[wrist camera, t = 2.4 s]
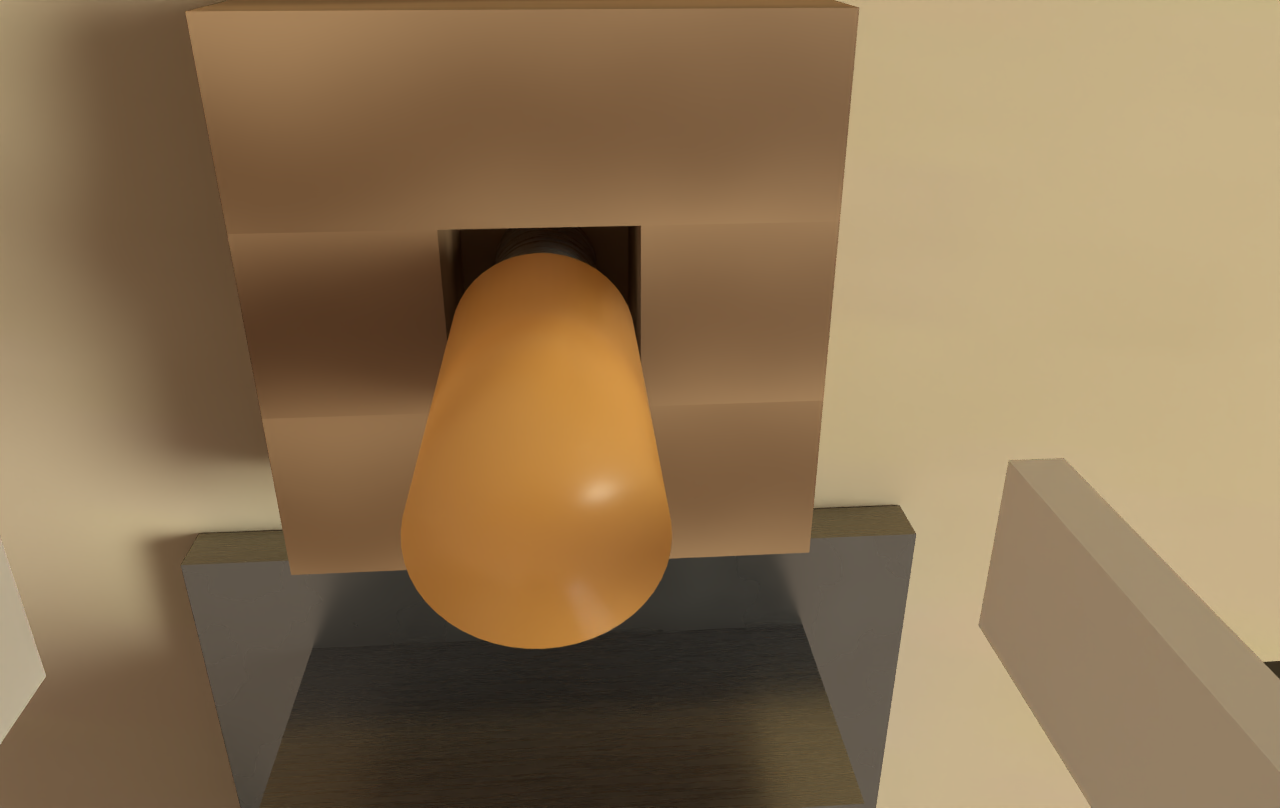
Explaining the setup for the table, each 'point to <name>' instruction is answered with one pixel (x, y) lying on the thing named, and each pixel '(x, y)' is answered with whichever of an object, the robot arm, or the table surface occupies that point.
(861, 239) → the table surface
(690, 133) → the wooden hole block
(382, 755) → the stand
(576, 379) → the orange rounded rod
